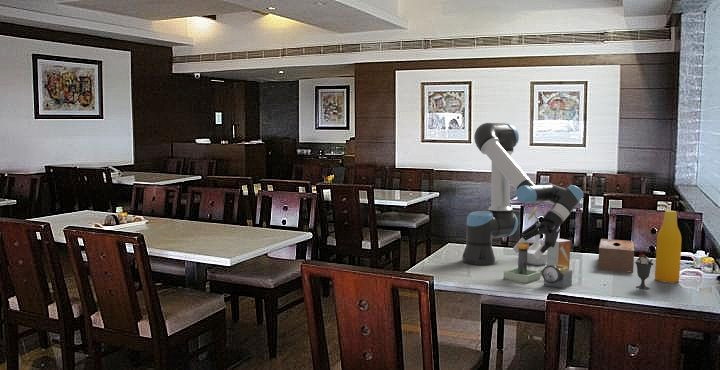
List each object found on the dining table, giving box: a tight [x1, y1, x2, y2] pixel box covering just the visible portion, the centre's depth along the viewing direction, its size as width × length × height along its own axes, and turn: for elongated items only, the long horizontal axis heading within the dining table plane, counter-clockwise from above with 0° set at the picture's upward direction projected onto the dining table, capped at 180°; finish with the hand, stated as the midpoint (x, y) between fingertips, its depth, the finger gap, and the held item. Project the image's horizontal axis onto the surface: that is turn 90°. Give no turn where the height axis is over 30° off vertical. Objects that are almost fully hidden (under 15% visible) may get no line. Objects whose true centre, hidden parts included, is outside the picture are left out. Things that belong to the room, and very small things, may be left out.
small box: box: [546, 238, 572, 268], centre depth 278 cm, size 8×6×13 cm
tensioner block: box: [541, 265, 573, 290], centre depth 247 cm, size 8×11×9 cm
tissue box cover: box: [597, 238, 635, 273], centre depth 288 cm, size 26×14×10 cm, turn 157°
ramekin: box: [527, 250, 548, 266], centre depth 291 cm, size 11×11×5 cm
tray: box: [503, 267, 542, 284], centre depth 259 cm, size 11×11×3 cm
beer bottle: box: [654, 210, 683, 283], centre depth 258 cm, size 9×9×29 cm
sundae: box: [634, 249, 654, 291], centre depth 245 cm, size 7×7×15 cm
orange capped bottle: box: [517, 242, 530, 275], centre depth 258 cm, size 5×5×14 cm
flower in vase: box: [527, 205, 548, 251], centre depth 305 cm, size 13×11×25 cm
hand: (524, 254), depth 257 cm, fingers open, 13 cm apart
